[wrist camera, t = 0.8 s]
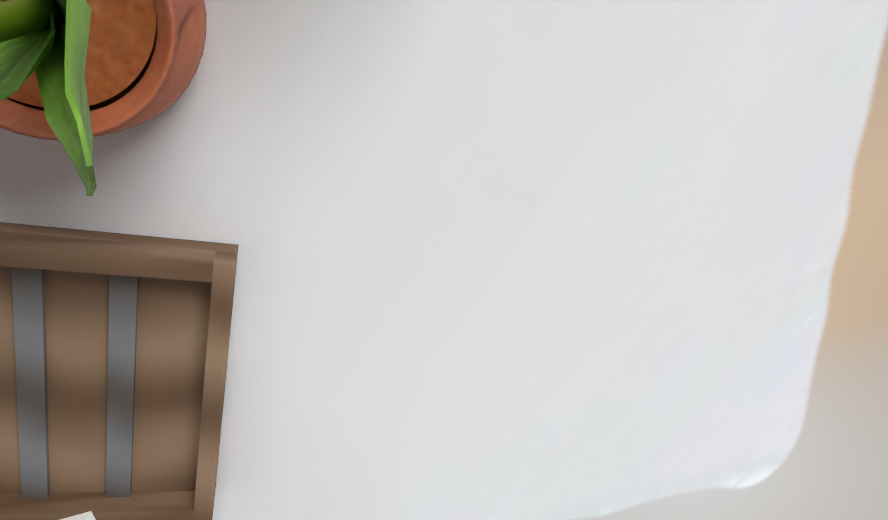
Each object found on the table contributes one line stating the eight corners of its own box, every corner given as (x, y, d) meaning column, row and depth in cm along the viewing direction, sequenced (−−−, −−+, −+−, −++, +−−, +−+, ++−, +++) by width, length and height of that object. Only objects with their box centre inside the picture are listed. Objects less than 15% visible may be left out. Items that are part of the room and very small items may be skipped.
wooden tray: (-208, 202, 27) (-250, 223, 25) (238, 244, 33) (235, 265, 30) (-157, 497, 33) (-187, 535, 31) (214, 491, 38) (211, 523, 36)
